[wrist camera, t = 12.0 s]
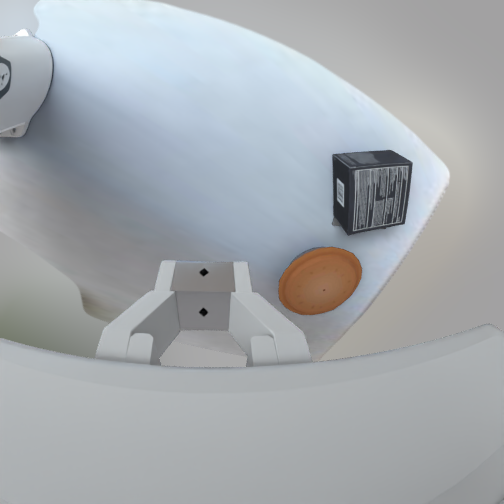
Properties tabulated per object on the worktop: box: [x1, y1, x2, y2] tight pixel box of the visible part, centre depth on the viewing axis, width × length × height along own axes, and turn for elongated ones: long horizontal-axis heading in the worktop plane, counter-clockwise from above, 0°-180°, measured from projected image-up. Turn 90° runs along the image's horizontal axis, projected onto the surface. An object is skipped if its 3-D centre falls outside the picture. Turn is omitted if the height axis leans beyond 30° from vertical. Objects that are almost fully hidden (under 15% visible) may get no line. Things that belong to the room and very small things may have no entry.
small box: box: [333, 150, 413, 235], centre depth 37 cm, size 11×6×10 cm
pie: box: [279, 247, 362, 315], centre depth 47 cm, size 15×16×5 cm
